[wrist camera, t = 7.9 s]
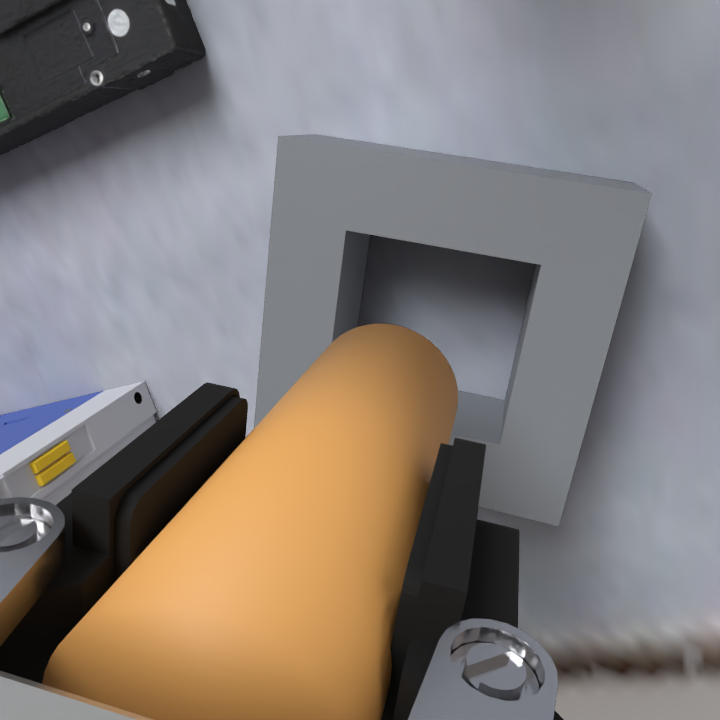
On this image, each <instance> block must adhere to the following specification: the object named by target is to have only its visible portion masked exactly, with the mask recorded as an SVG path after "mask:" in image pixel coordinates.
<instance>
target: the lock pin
mask: <svg viewBox="0 0 720 720" xmlns="http://www.w3.org/2000/svg"><path fill="white" fill-rule="evenodd" d="M457 406H458V389H457V383H456V379H455V376H454V373H453V371H452V369H451V366H450V364H449V363H448V361H447V360H446V358H445V356H444V355H443V354H442V353H441V352H440V350H439V349H438V348H437V347H436V346H435V345H434V344H433V343H432V342H430V341H429V340H428V339H426V338H425V337H423V336H422V335H420V334H418V333H416V332H415V331H412V330H410V329H407V328H405V327H401V326H397V325H392V324H369V325H363V326H360V327H356V328H354V329H351V330H349V331H347V332H345V333H344V334H342V335H340V336H339V337H338V338H337V339H335V340H334V341H333V342H332V343H331V344H330V345H329V346H328V347H327V348H326V350H325V351H324V352H323V353H322V354H321V355H320V356H319V357H318V358H317V360H316V361H315V362H314V363H313V364H312V365H311V366H310V367H309V368H308V369H307V371H306V372H305V373H304V374H303V375H302V376H301V377H300V378H299V379H298V381H297V382H296V383H295V384H294V385H293V386H292V387H291V388H290V389H289V390H288V392H287V393H286V394H285V395H284V396H283V397H282V398H281V399H280V400H279V402H278V403H277V404H276V405H275V406H274V407H273V408H272V409H271V410H270V411H269V413H268V414H267V415H266V416H265V417H264V418H263V419H262V420H261V421H260V423H259V424H258V425H257V426H256V427H255V428H254V429H253V430H252V431H251V432H250V434H249V435H248V436H247V437H246V438H245V439H244V440H243V441H242V442H241V444H240V445H239V446H238V447H237V448H236V449H235V450H234V451H233V452H232V454H231V455H230V456H229V457H228V458H227V459H226V460H225V461H224V462H223V463H222V465H221V466H220V467H219V468H218V469H217V470H216V471H215V472H214V473H213V475H212V476H211V477H210V478H209V479H208V480H207V481H206V482H205V483H204V484H203V486H202V487H201V488H200V489H199V490H198V491H197V492H196V493H195V494H194V496H193V497H192V498H191V499H190V500H189V501H188V502H187V503H186V504H185V505H184V507H183V508H182V509H181V510H180V511H179V512H178V513H177V514H176V515H175V517H174V518H173V519H172V520H171V521H170V522H169V523H168V524H167V525H166V526H165V528H164V529H163V530H162V531H161V532H160V533H159V534H158V535H157V536H156V538H155V539H154V540H153V541H152V542H151V543H150V544H149V545H148V546H147V548H146V549H145V550H144V551H143V552H142V553H141V554H140V555H139V556H138V557H137V559H136V560H135V561H134V562H133V563H132V564H131V565H130V566H129V567H128V569H127V570H126V571H125V572H124V573H123V574H122V575H121V576H120V577H119V578H118V580H117V581H116V582H115V583H114V584H113V585H112V586H111V587H110V588H109V590H108V591H107V592H106V593H105V594H104V595H103V596H102V597H101V598H100V599H99V601H98V602H97V603H96V604H95V605H94V606H93V607H92V608H91V609H90V611H89V612H88V613H87V614H86V615H85V616H84V617H83V618H82V619H81V620H80V622H79V623H78V624H77V625H76V626H75V627H74V628H73V629H72V630H71V632H70V633H69V634H68V635H67V636H66V637H65V638H64V639H63V640H62V641H61V643H60V644H59V645H58V646H57V648H56V649H55V651H54V653H53V654H52V656H51V657H50V659H49V662H48V664H47V667H46V669H45V672H44V677H43V682H42V684H44V685H47V686H50V687H53V688H56V689H60V690H63V691H66V692H69V693H72V694H75V695H78V696H82V697H85V698H88V699H91V700H94V701H97V702H101V703H104V704H107V705H110V706H113V707H116V708H119V709H123V710H126V711H129V712H132V713H135V714H138V715H141V716H144V717H148V718H151V719H154V720H381V718H382V714H383V710H384V706H385V701H386V697H387V693H388V689H389V685H390V680H391V670H392V661H391V649H390V648H391V643H392V637H393V632H394V627H395V622H396V616H397V611H398V606H399V601H400V595H401V591H402V586H403V581H404V577H405V573H406V568H407V565H408V561H409V557H410V553H411V550H412V546H413V543H414V539H415V535H416V532H417V528H418V524H419V521H420V517H421V513H422V510H423V506H424V502H425V499H426V495H427V491H428V488H429V484H430V480H431V477H432V473H433V469H434V466H435V462H436V458H437V455H438V451H439V448H440V444H441V443H443V444H448V445H449V441H450V437H451V432H452V428H453V424H454V420H455V416H456V412H457Z"/></svg>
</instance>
